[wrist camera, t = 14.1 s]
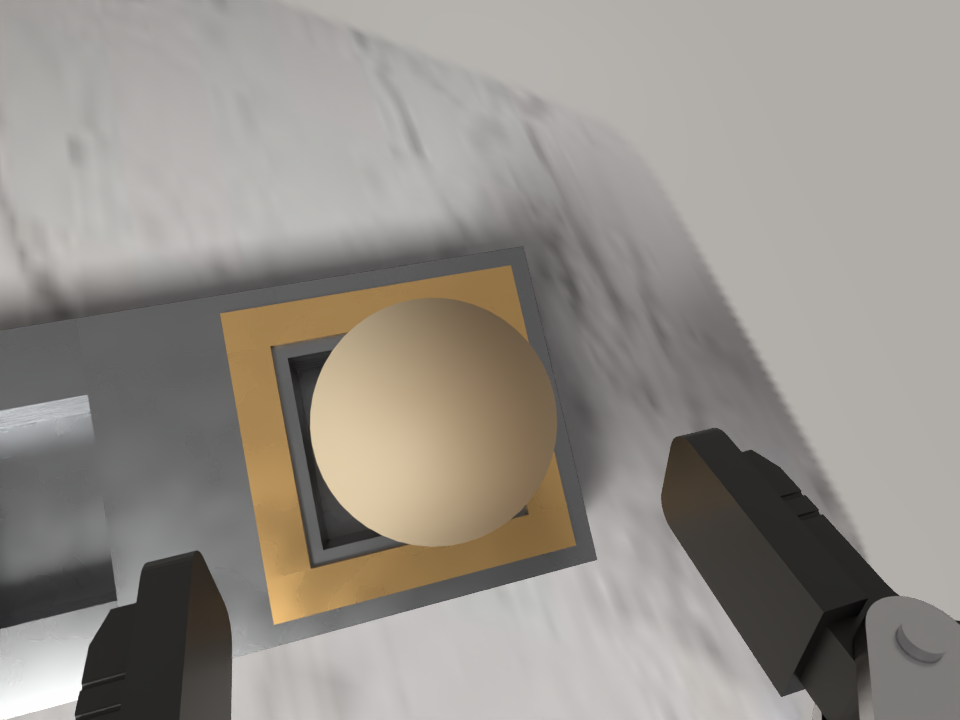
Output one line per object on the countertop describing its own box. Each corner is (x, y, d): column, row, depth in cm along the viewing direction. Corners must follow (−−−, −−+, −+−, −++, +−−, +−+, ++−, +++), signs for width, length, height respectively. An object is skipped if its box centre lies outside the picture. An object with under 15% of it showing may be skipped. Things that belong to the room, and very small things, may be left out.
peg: (349, 512, 22) (336, 574, 10) (327, 393, 22) (288, 321, 10) (466, 484, 22) (581, 513, 11) (442, 371, 23) (527, 279, 11)
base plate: (-106, 718, 19) (-231, 785, 15) (-138, 389, 21) (-262, 369, 17) (558, 544, 24) (599, 560, 20) (498, 281, 25) (524, 244, 21)
